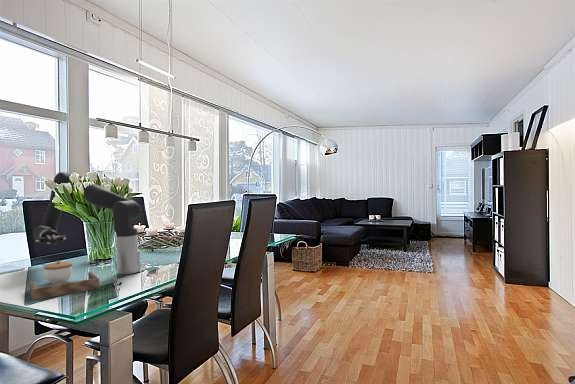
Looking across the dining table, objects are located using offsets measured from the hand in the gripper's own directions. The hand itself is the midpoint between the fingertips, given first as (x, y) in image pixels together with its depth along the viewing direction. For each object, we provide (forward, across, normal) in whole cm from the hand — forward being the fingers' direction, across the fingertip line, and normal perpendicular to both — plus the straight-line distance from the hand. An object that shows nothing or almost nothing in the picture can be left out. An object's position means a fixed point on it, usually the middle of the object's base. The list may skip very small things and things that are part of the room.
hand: (53, 241), depth 180 cm
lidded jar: (+13, 0, +16) cm, 21 cm away
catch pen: (+28, 0, +16) cm, 32 cm away
